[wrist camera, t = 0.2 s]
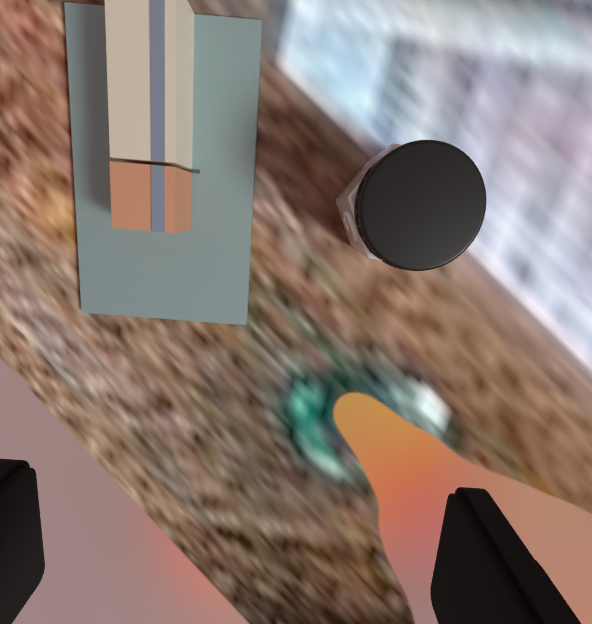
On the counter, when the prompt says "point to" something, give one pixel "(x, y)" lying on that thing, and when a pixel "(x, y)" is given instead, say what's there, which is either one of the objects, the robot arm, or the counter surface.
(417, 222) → the jar
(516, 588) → the robot arm
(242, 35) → the mat
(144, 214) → the stub
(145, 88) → the beige box
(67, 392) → the counter surface
